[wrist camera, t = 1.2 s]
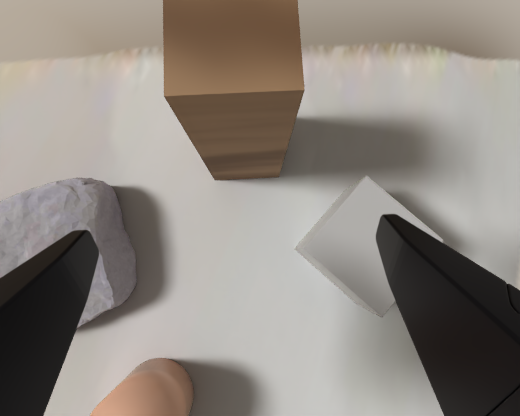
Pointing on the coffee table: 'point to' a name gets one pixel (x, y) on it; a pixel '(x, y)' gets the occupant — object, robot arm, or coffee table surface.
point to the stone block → (63, 222)
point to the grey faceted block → (356, 244)
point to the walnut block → (234, 80)
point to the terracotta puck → (150, 392)
